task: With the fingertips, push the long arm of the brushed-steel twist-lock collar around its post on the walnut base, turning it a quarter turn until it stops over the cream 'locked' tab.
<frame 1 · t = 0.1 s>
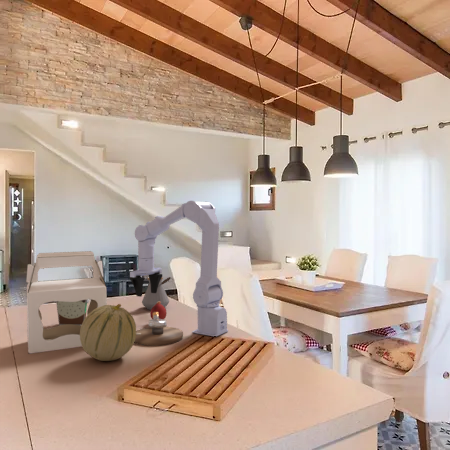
hand: (146, 294, 152), 10 cm above the kitchen counter, fingers open, 7 cm apart
gable box: (67, 343, 127), on the kitchen counter
onion: (158, 324, 149), on the kitchen counter
coffee pot: (160, 310, 171), on the kitchen counter
cantaloupe: (108, 360, 111), on the kitchen counter
food container: (75, 323, 151), on the kitchen counter
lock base: (157, 337, 131), on the kitchen counter
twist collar: (156, 319, 135), point 5 cm above the kitchen counter, hinge at 0.0°
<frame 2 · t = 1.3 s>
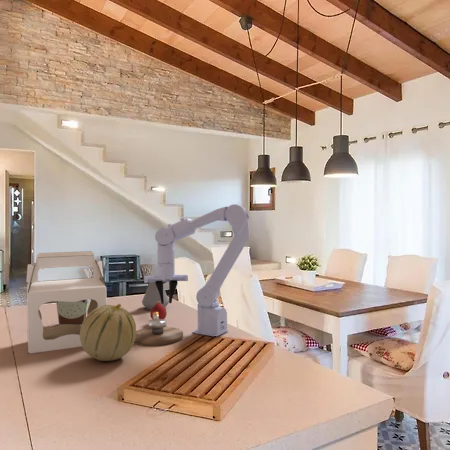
hand: (166, 303, 140), 9 cm above the kitchen counter, fingers closed
nothing on the kitchen counter moved.
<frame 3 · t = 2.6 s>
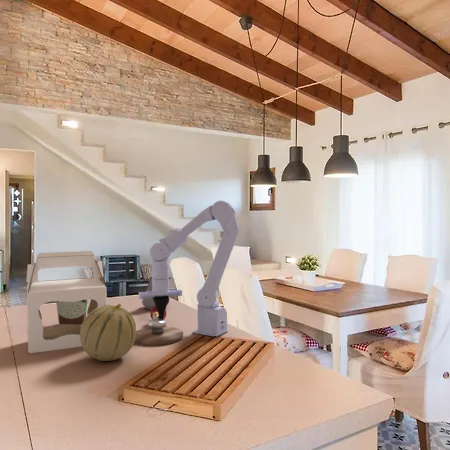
hand: (160, 318, 139), 4 cm above the kitchen counter, fingers closed, pressing on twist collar
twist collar: (156, 319, 135), point 5 cm above the kitchen counter, hinge at 0.2°, touching gripper
everything else where it was.
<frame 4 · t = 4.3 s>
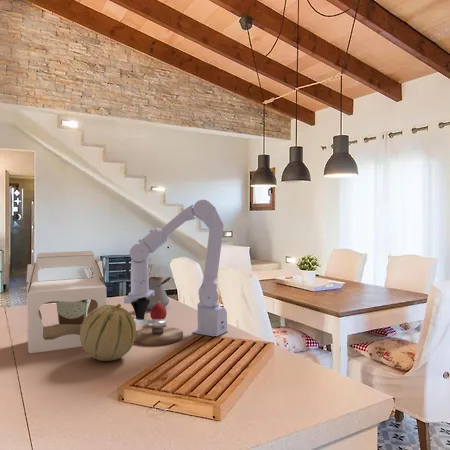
hand: (140, 321, 136), 4 cm above the kitchen counter, fingers closed, pressing on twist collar
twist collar: (146, 321, 133), point 5 cm above the kitchen counter, hinge at 50.7°, touching gripper
everything else where it was.
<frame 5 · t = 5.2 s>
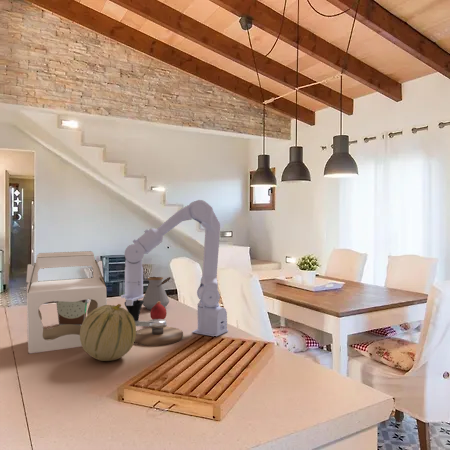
hand: (134, 323, 133), 4 cm above the kitchen counter, fingers closed, pressing on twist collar
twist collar: (144, 322, 131), point 5 cm above the kitchen counter, hinge at 74.1°, touching gripper
everything else where it was.
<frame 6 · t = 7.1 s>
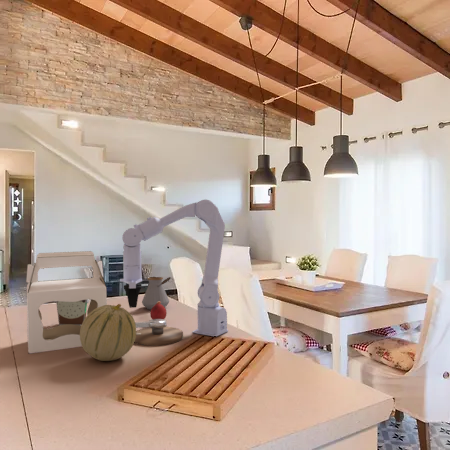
hand: (132, 307, 134), 9 cm above the kitchen counter, fingers closed
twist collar: (143, 323, 130), point 5 cm above the kitchen counter, hinge at 91.3°
everything else where it was.
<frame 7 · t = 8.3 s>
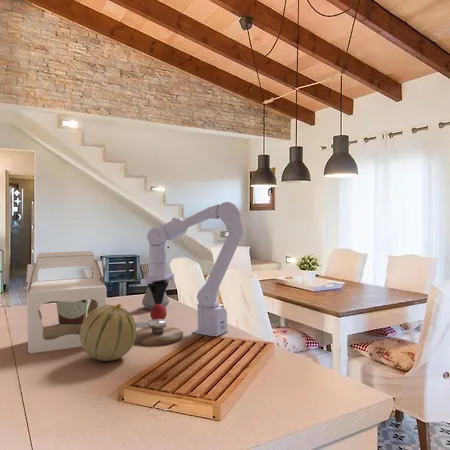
hand: (158, 303, 139), 9 cm above the kitchen counter, fingers closed
nothing on the kitchen counter moved.
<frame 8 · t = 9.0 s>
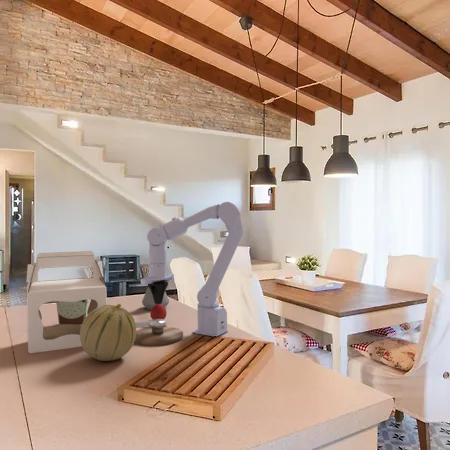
hand: (158, 303, 139), 9 cm above the kitchen counter, fingers closed
nothing on the kitchen counter moved.
at the end: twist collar at +91° (first picture: +0°); onion moved 0.2 cm from its start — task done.
